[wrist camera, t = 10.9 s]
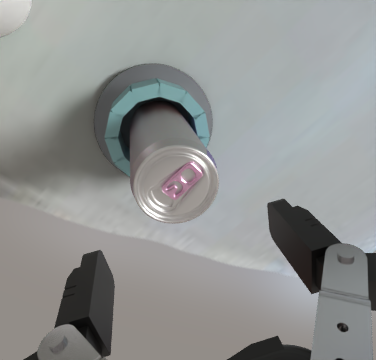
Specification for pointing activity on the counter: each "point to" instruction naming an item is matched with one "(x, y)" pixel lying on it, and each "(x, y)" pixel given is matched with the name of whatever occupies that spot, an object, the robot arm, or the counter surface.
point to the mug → (13, 15)
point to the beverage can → (169, 165)
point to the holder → (140, 94)
